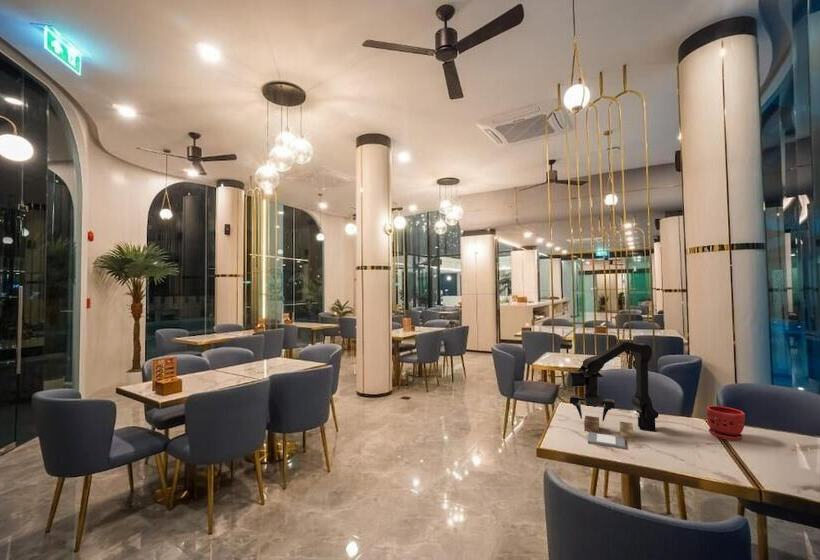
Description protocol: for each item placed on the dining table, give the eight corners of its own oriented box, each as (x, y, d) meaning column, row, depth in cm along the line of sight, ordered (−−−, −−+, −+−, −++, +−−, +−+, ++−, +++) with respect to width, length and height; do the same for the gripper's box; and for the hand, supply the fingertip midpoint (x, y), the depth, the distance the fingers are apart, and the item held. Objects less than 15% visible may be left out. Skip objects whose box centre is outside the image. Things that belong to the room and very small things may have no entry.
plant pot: (747, 445, 161) (746, 416, 161) (707, 437, 169) (706, 410, 169) (744, 435, 171) (743, 408, 171) (707, 429, 179) (706, 403, 179)
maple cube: (632, 434, 174) (632, 423, 174) (633, 438, 169) (632, 426, 169) (619, 432, 176) (619, 421, 176) (620, 436, 172) (619, 424, 172)
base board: (624, 439, 167) (624, 436, 167) (625, 449, 158) (625, 446, 158) (588, 434, 174) (588, 431, 174) (587, 443, 164) (587, 440, 164)
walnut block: (599, 427, 182) (599, 417, 182) (598, 433, 175) (598, 422, 175) (585, 425, 185) (585, 415, 185) (584, 431, 178) (584, 420, 178)
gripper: (568, 388, 177) (569, 422, 177) (614, 393, 169) (614, 428, 169) (570, 382, 187) (571, 415, 187) (613, 387, 179) (614, 420, 178)
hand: (592, 419), depth 180 cm, fingers open, 9 cm apart
